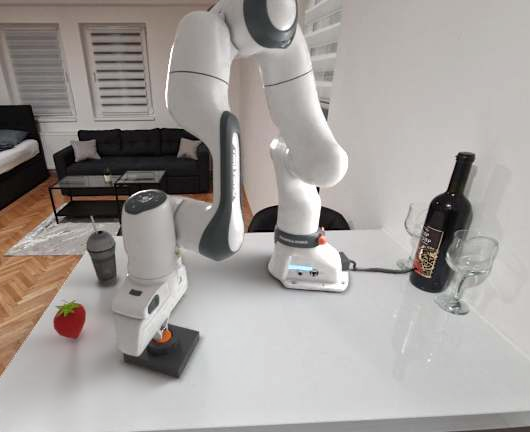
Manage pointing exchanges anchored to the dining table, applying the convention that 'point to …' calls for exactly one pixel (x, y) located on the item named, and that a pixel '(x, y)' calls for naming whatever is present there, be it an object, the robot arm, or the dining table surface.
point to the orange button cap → (164, 338)
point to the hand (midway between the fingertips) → (160, 335)
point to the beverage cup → (103, 256)
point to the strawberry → (69, 319)
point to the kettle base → (168, 352)
